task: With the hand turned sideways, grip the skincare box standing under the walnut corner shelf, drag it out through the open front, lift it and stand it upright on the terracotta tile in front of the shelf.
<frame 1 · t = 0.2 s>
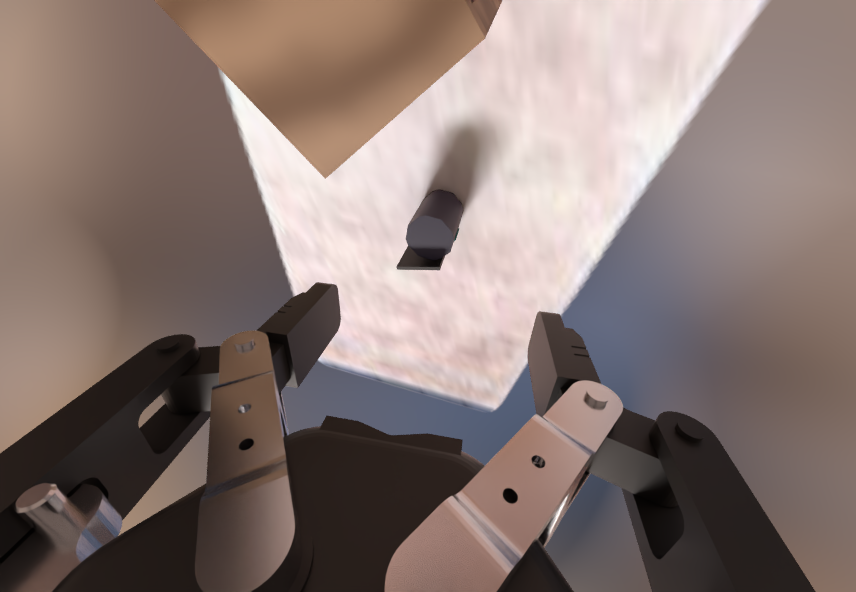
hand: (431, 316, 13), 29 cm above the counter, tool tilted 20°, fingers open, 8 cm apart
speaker: (437, 207, 44), on the counter
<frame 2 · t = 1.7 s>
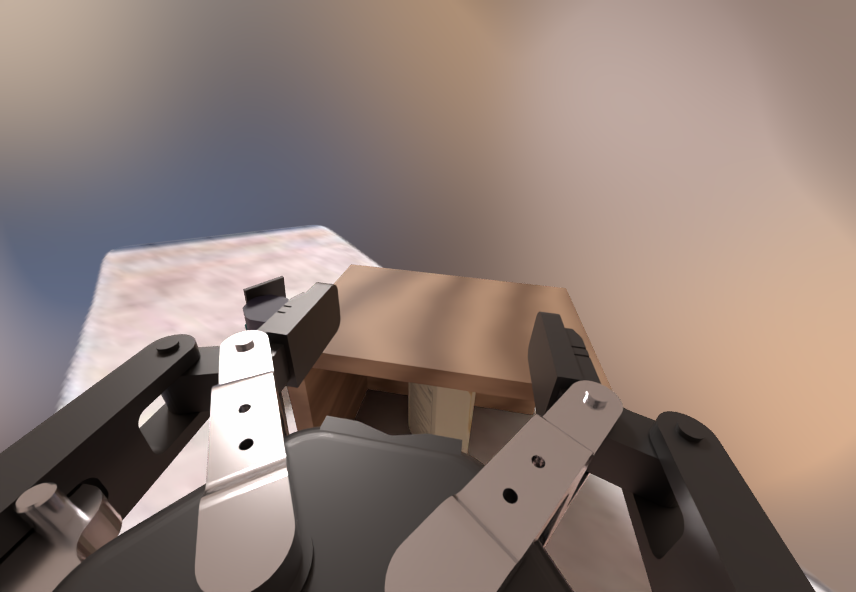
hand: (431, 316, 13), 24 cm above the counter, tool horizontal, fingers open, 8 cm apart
walnut shelf: (435, 439, 35), on the counter
skincare box: (435, 440, 35), on the counter
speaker: (281, 352, 47), on the counter
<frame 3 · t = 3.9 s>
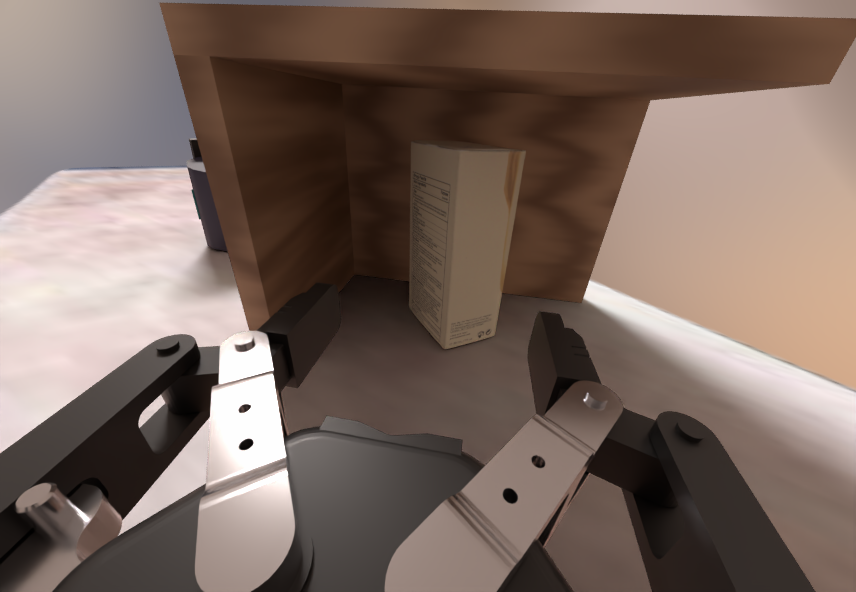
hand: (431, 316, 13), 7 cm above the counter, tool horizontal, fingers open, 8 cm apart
walnut shelf: (448, 320, 24), on the counter
skincare box: (448, 322, 25), on the counter
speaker: (245, 243, 36), on the counter
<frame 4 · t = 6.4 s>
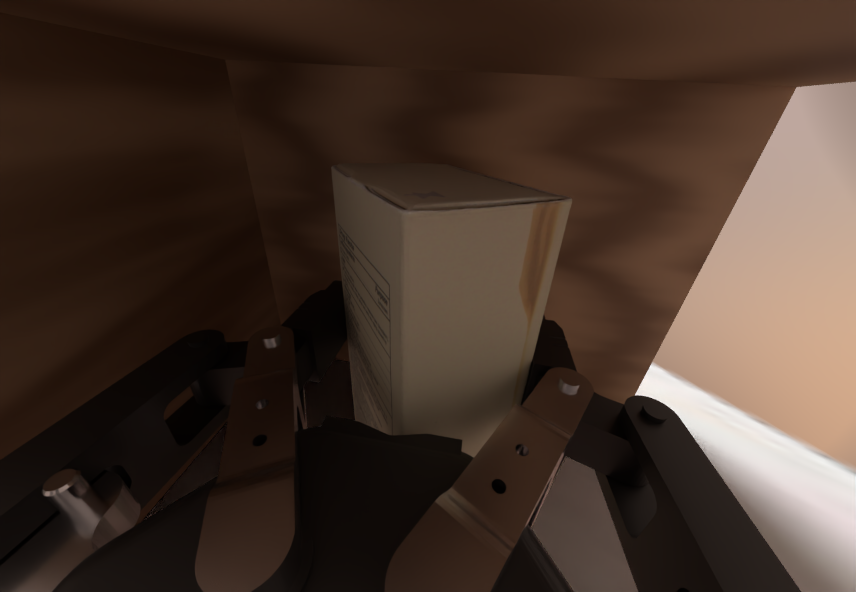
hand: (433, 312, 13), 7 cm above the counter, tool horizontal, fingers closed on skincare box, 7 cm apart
walnut shelf: (417, 459, 15), on the counter
skincare box: (417, 462, 15), on the counter, touching gripper
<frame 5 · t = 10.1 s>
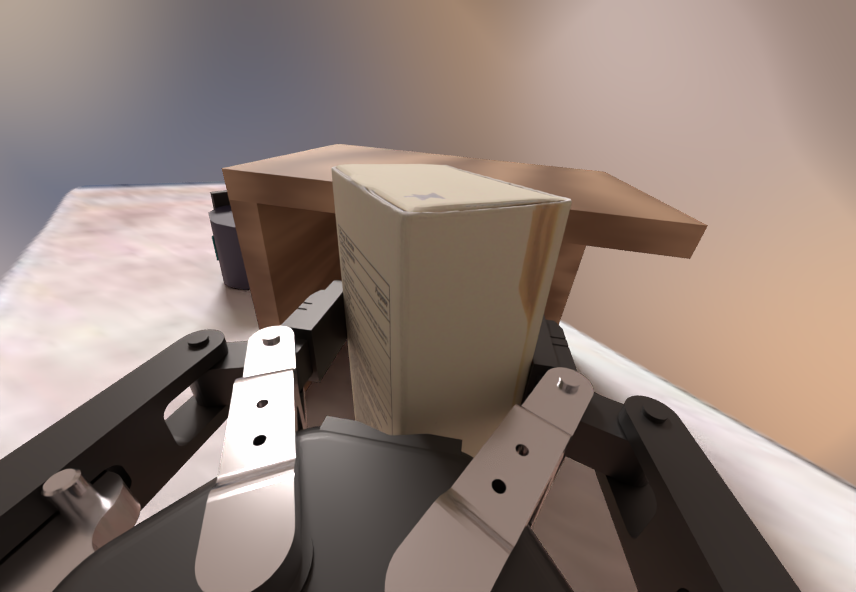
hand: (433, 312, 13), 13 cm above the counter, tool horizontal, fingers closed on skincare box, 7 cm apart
walnut shelf: (435, 364, 29), on the counter
skincare box: (417, 462, 15), point 6 cm above the counter, touching gripper
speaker: (256, 279, 40), on the counter
when the fingers open (8 cm above the counter, at t = 13.7 s): skincare box drops 1 cm, resting on terracotta tile.
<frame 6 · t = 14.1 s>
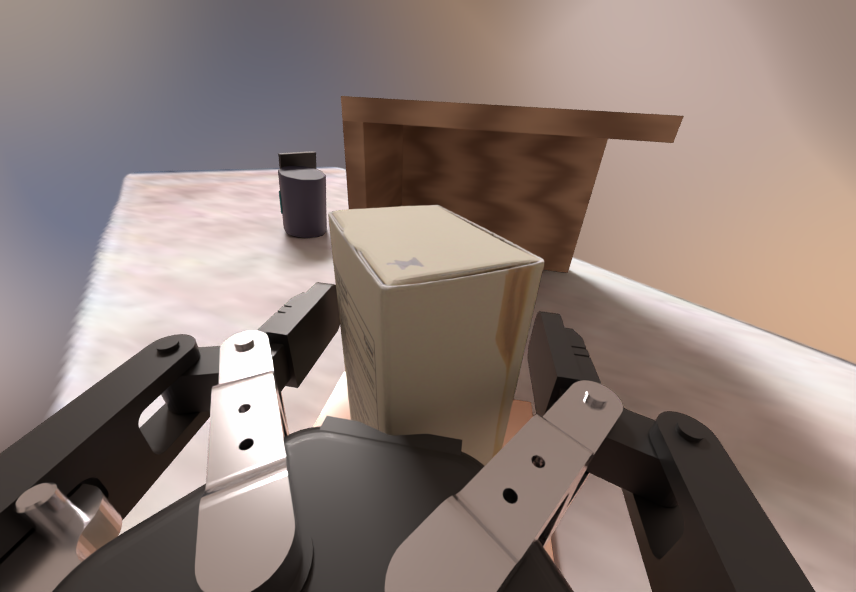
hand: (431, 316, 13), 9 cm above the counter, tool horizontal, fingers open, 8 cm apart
terracotta tile: (415, 488, 16), on the counter
walnut shelf: (474, 281, 35), on the counter
skincare box: (411, 482, 15), point 1 cm above the counter, touching terracotta tile
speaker: (311, 232, 47), on the counter
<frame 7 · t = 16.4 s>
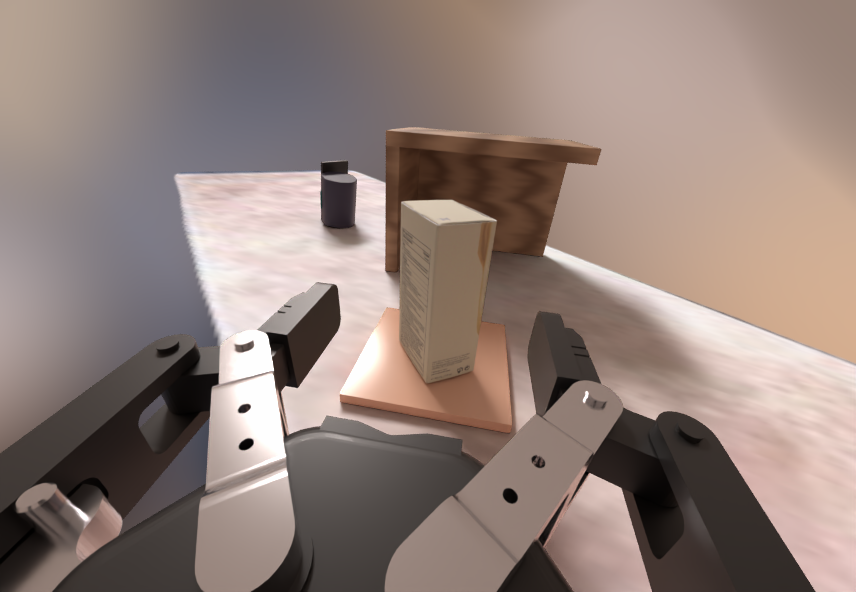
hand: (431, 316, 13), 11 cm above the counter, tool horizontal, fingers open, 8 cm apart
terracotta tile: (435, 360, 28), on the counter
walnut shelf: (471, 261, 47), on the counter
skincare box: (433, 355, 27), point 1 cm above the counter, touching terracotta tile
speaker: (342, 224, 59), on the counter
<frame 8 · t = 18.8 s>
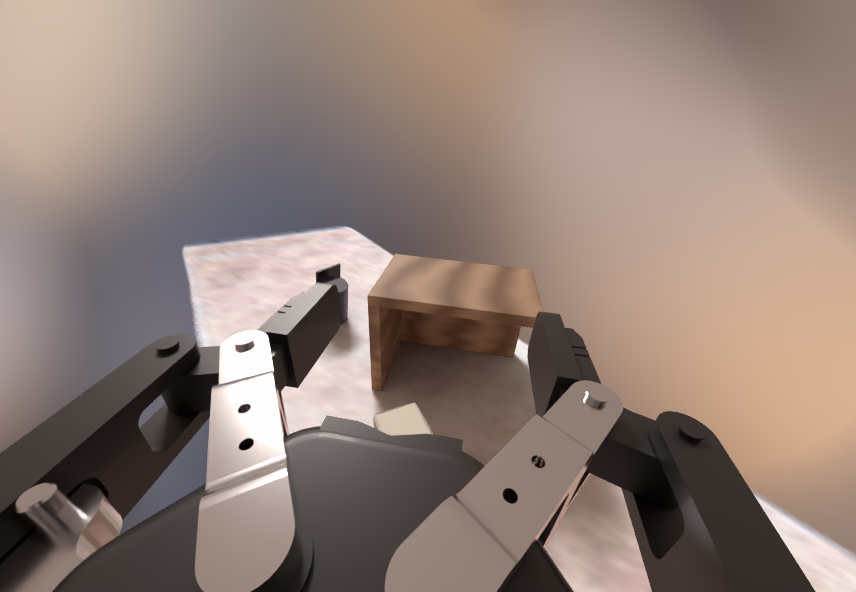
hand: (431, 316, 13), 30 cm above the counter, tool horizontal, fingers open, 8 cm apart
walnut shelf: (448, 368, 54), on the counter
skincare box: (404, 510, 34), point 1 cm above the counter, touching terracotta tile
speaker: (336, 318, 65), on the counter
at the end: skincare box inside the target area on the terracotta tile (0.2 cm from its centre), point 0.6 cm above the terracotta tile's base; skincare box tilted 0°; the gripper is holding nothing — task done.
